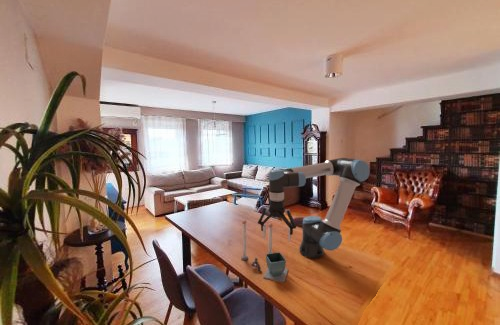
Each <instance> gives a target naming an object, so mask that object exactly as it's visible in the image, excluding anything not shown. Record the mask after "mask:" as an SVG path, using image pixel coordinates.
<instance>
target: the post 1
mask: <svg viewBox="0 0 500 325" xmlns="http://www.w3.org/2000/svg"><path fill="white" fill-rule="evenodd" d="M241 222H242V256H241V257H240V258H241V261H247V260H249V257H248V256H247V220H246V219H243V220H242V221H241Z"/></svg>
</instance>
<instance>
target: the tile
mask: <svg viewBox="0 0 500 325" xmlns="http://www.w3.org/2000/svg"><path fill="white" fill-rule="evenodd" d="M288 271H289V268H285V270H284V272H283V273H282V274H281V275H276V276H272V274H271V272H270V271H269V269H268V267H267V269H266V271H265V273H264V275H263V279H266V280H271V281H275V282H279V283H285V282H286V278H287V275H288Z"/></svg>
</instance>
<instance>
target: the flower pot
mask: <svg viewBox="0 0 500 325" xmlns="http://www.w3.org/2000/svg"><path fill="white" fill-rule="evenodd" d="M265 262H266V266H267V268H268V269H269V271H270V272H271V274H272V276H276V275H281V274H282V273H283V272H284V270H285V269H286V264H287V259H286V258H285V257H284V255H283V254H282V252H280V251H279V252H272V253H271V254H268V253H265Z"/></svg>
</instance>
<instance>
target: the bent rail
mask: <svg viewBox="0 0 500 325" xmlns="http://www.w3.org/2000/svg"><path fill="white" fill-rule="evenodd" d="M258 260H259V259H258V257H255V258H254V259H253V261H252V263H250V267H251V268H257V271H258V272H261V269H262V268H261V266H260V264H258V262H259V261H258Z"/></svg>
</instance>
